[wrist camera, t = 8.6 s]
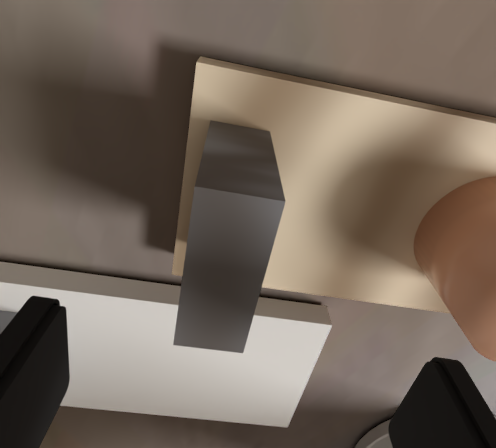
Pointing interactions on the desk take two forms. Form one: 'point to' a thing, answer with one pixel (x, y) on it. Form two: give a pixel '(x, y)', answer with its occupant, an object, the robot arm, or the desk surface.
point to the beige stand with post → (309, 195)
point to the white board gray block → (170, 349)
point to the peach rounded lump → (464, 258)
